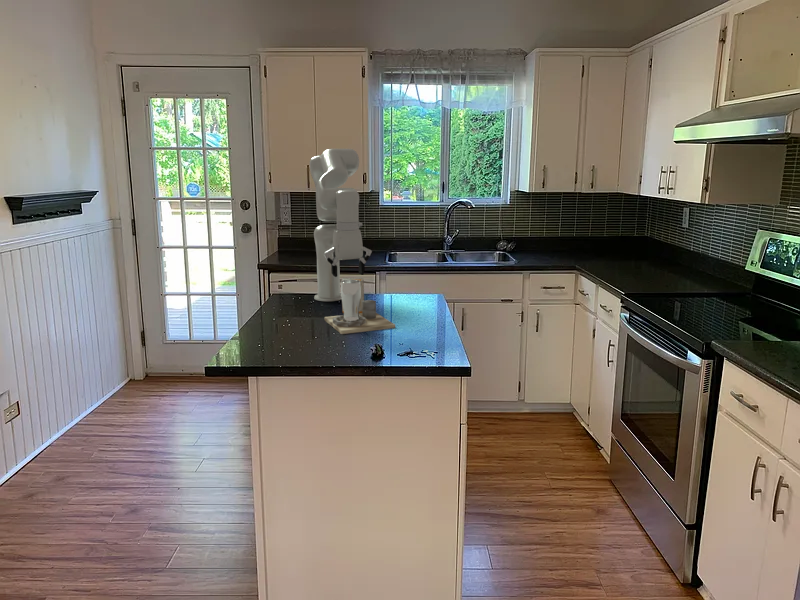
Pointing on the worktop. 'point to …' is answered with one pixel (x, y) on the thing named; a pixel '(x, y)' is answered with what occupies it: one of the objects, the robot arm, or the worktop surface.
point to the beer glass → (351, 299)
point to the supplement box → (361, 291)
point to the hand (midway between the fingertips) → (348, 275)
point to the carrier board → (364, 327)
